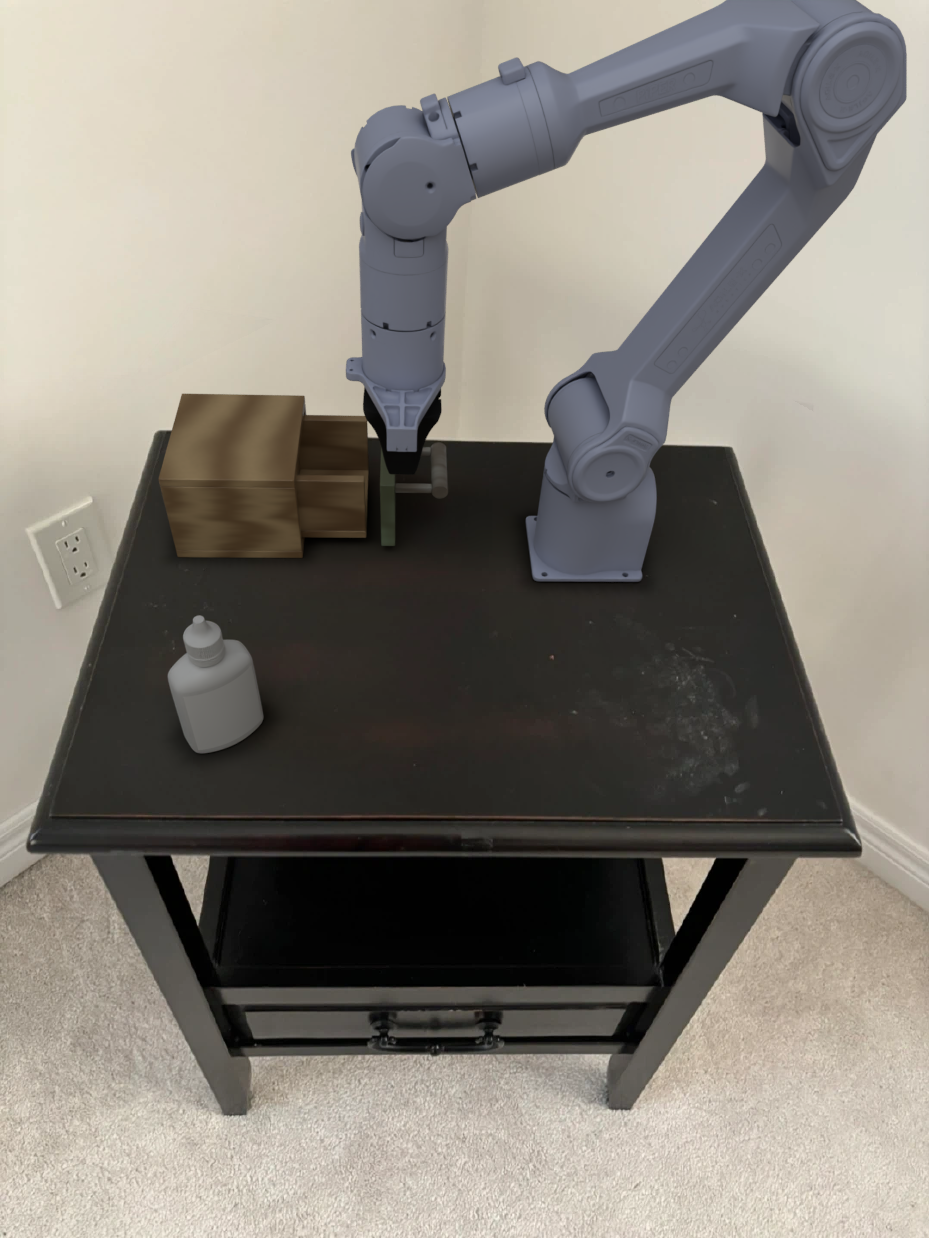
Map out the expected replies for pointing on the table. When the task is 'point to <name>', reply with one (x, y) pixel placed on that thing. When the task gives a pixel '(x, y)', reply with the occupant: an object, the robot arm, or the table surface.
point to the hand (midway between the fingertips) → (401, 469)
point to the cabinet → (234, 476)
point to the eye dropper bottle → (214, 689)
